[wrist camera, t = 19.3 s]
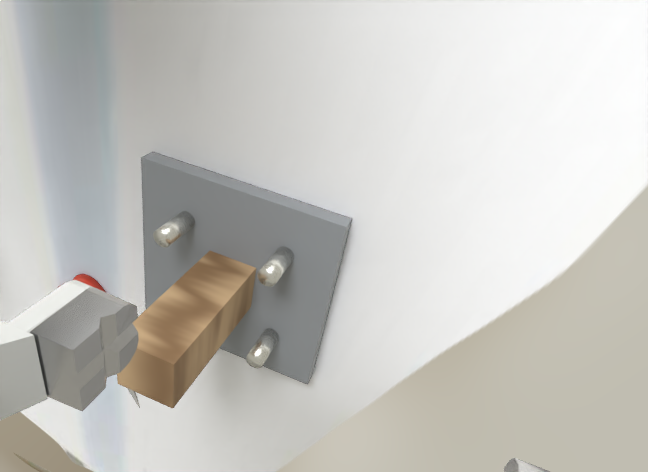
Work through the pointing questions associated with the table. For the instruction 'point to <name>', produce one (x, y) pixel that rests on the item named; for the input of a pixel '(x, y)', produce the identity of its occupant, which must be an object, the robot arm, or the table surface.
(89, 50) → the table surface
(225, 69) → the table surface
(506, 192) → the table surface
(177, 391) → the oak block
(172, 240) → the standoff pins
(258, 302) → the plate
